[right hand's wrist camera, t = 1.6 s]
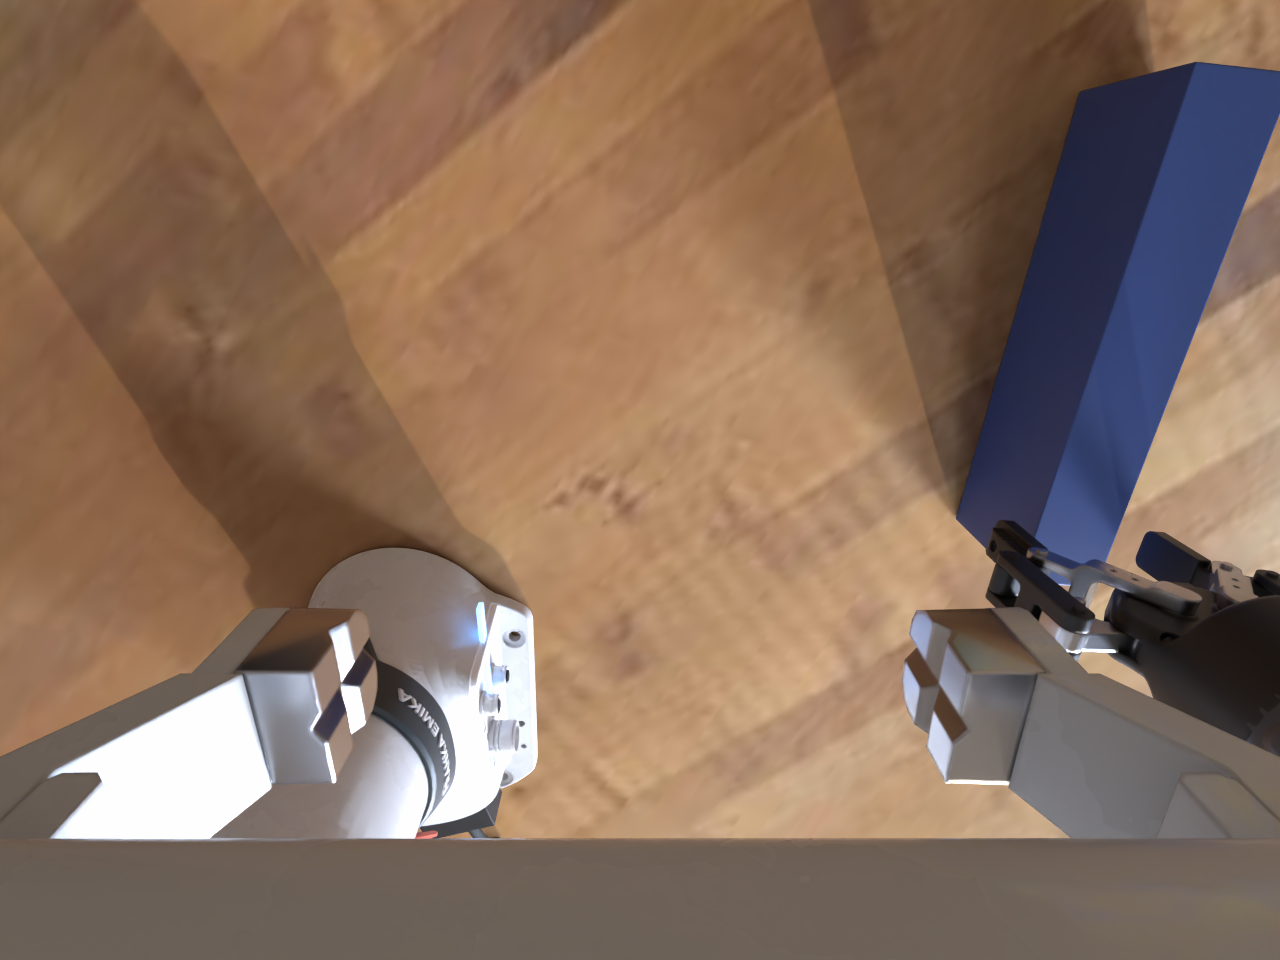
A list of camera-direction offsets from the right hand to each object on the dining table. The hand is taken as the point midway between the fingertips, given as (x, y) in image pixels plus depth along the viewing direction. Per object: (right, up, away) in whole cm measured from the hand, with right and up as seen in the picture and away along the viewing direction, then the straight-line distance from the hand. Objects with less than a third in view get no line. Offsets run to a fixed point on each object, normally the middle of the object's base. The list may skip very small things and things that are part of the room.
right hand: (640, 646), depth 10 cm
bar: (+25, +12, +33) cm, 43 cm away
